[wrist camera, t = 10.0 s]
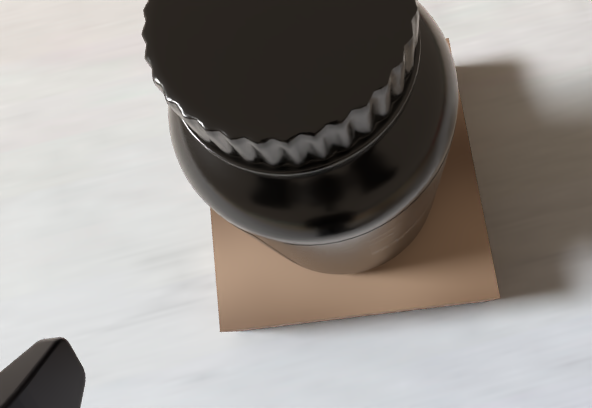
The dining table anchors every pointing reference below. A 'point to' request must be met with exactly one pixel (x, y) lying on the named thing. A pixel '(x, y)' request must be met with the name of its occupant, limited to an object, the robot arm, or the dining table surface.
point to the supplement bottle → (309, 119)
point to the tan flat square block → (372, 283)
